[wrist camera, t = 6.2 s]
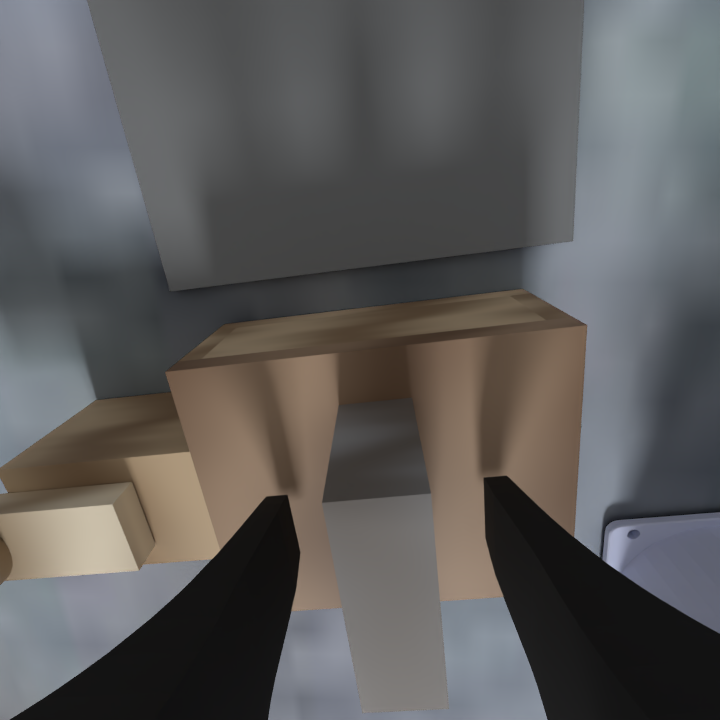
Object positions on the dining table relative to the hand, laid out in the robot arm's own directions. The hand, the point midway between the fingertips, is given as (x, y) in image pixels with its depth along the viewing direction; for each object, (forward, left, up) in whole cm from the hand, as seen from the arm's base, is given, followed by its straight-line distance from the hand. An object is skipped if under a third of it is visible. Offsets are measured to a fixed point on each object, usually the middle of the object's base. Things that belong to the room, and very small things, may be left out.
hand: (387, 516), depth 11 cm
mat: (0, -12, -6) cm, 13 cm away
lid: (0, 0, -2) cm, 2 cm away
